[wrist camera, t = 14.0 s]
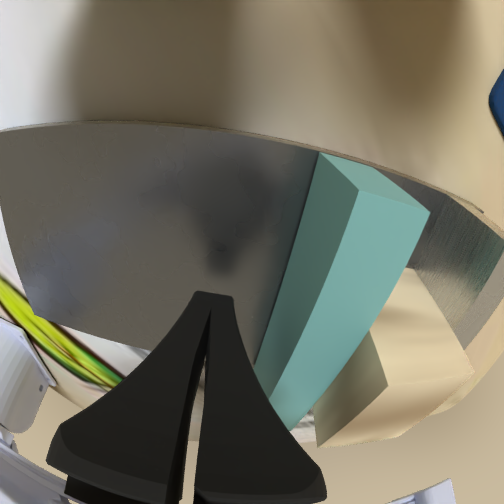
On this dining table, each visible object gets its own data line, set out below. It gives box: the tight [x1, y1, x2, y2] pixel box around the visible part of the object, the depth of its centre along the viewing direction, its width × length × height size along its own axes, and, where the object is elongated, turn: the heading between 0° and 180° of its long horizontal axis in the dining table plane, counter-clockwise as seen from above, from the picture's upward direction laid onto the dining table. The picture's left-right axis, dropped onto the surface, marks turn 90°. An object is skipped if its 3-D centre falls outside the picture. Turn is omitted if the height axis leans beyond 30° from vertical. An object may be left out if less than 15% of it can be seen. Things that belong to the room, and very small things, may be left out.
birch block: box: [313, 268, 475, 448], centre depth 10 cm, size 5×4×6 cm
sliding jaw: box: [253, 152, 430, 431], centre depth 10 cm, size 12×2×4 cm, turn 170°
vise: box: [0, 120, 504, 368], centre depth 10 cm, size 12×24×5 cm, turn 80°
